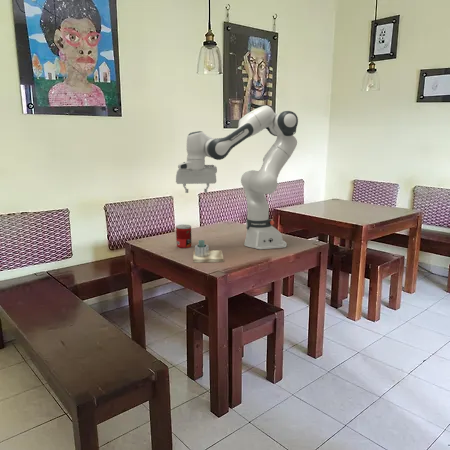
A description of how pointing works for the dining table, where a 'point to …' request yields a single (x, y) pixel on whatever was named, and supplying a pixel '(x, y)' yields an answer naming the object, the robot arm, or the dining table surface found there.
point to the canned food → (183, 236)
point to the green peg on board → (212, 257)
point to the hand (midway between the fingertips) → (196, 192)
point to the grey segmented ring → (201, 251)
